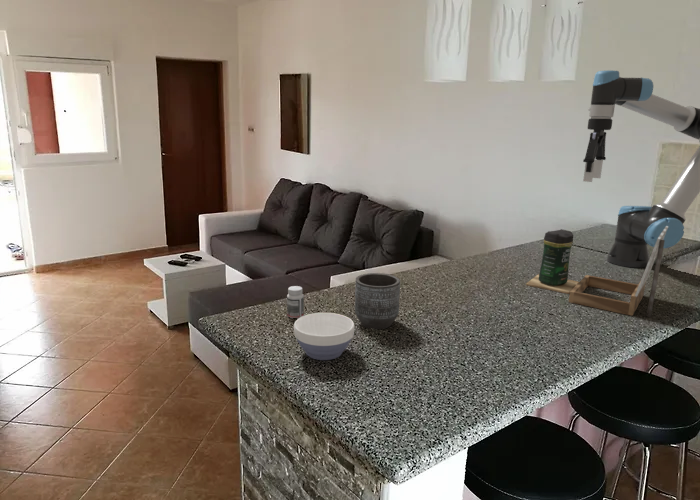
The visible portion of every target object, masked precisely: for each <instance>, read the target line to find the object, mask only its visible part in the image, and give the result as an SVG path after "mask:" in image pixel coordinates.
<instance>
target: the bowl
mask: <svg viewBox="0 0 700 500" xmlns="http://www.w3.org/2000/svg"><path fill="white" fill-rule="evenodd" d="M355 328H356V327H355V323H354V321H353V319H351V318H350V317H348V316H346V315H343V314H339V313H334V312H314V313H309V314H304V316H302V317H300V318H297V320H295V321H294V324H293V333H294V336H295V339H296V341H297V343H298V344H299V346H300V347H301V349H302V350H303V351H304V352H305V354H306V356H307V357H309V358H310V359H314V360H316V361H317V360H318V361H331V360H335V359H337V358H339V357H341V356H342V354H343V352H344V351H345V350H346V349H347V348H348V346H349V344H350V343H351V341H352V340H353V338H354V334H355Z"/></svg>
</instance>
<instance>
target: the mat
mask: <svg viewBox="0 0 700 500" xmlns="http://www.w3.org/2000/svg"><path fill="white" fill-rule="evenodd" d="M579 282H580V281H577V280H572V279H568V280H567V282H566V283H565V284H562V285H557V286H554V285H546V284H543V283H542V282H540V281H539V273H537V274H536V275H535V276H534V277H532V279H530V280H529V281H527V282H526V283H525V286H529V287H533V288H537V289H544V290H549V291H553V292H558V293H563V294H569V295H570V291H571V290H572V289H573V288H574V287H575V286H576V285H577V284H578V283H579Z"/></svg>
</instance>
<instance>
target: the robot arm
mask: <svg viewBox="0 0 700 500" xmlns="http://www.w3.org/2000/svg"><path fill="white" fill-rule="evenodd" d="M653 91H654V82H653V81H652V79H651V78H646V77H621V76H620V72H619V70H611V69H608V70H598V71H597V72H595V74H594V78H593V83H592V91H591V92H592V93H591V99H590V107H588V108H587V110H588V111H589V119H588V120H587V121H588V122H587V130H593V132H590V133H589V141H588V144H587V149H586V153H585V157H584V158H583V163H585V166H584V173H583V181H582V182H587V183H593V179H601V177H602V176H601V175H602V169H603V164H604V163H603V162H604V161H606V160H607V158H606V137H607V132H606V131H610V130H611V129H612V128H613V127H612V125H613V119H612V118H613V117H614V116H615V106H616V105H617V106H620V107H622V108H625V109H628V110H630V111H633V112H635V113H638V114H641V115H643V116H646V117H647V118H650V119H654V120H656V121H658V122H661V123H664V124H666V125H668V126H670V127H673V129H674V130H675V131H676V132H679V133H681V134H684V135H686V136H689V137H691V138H692V139H695V140H698V141H699V142H698V143H700V108H697V107H694V106H691V105H689V106H684V105H681V104H678V103H676V102H673V101H671V100H668V99H667V98H666V99H665V98H663V97H660V96H659V95H658V96H657V95H655V94H653ZM699 194H700V145H699V146H698V148H697V149H696V151H695V152H694V154H693V155H692V157H691V158H690V160H689V161H688V162H687V163H686V165H685V167H684V168H683V169H682V171H681V173H680V174H679V175H678V177H677V178H676V180H675V181H674V182H673V184H672V186H671V187H670V189H669V190H668V191H667V193H666V194H665V196H664V197H663V199H662V200H661V201H660V202H658V203H655V204H653V205H652V206H649V205H648V206H647V205H622V206H621V207H620V208H619V210H618V211H619V212H618V214H617V221H616V222H617V223H616V228H615V237H614V241H613V244H612V245H611V248H610V249H609V251H608V252H607V257H606V260H607V262H609V263H611V264H613V265H616V266H617V265H618V266H622V267H626V268H627V267H628V268H639V269H640V268H646V266H647V264H648V261H649V259H650V253H649V249H648V245H649V246H650V247H652V248H654V246H655V244H656V241H657V239H658V237H659V236H660V234H661V233H662V231H663V230H664V229H665V227H666V226H668V229H667V231H666V234H665V236H664V239H663V240H665V242H664V247H663V249H668V248H672V247H674V246H676V245H677V244H678V243H679V242H680V241H681V240H682V238H683V237H684V233H685V230H684V229H685V226H684V223H685V221H686V216H685V213H686V212H687V211H688V209H690V207H691V205H692V204H693V202H695V199H696V198H697V197H698V195H699Z"/></svg>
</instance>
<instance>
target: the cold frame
mask: <svg viewBox="0 0 700 500" xmlns="http://www.w3.org/2000/svg"><path fill="white" fill-rule="evenodd" d="M667 229H668V226H666V227H665V229H664V230H663V231H662V233H661V234H660V236H659V237H658V239H657V241H656V244H655V246H654V247H653V249H652V252H651V254H650V255H649V258H650V259H649V261H648V264H647V266H646V267H645V270H644V272H643V274H642V276H641V279H640V281H639V283H633V282H627V281H621V280H617V279H610V278H606V277H605V278H604V277H600V276H596V275H595V276H593V275H589V274H586V275H584V277H583V278H582V279H581V280H580V281H578V282H579V283H578V284H577V285H576V286H575V287H574V288H573V289H572V290H571V291H570V293H569V296H568V303H571V304H575V305H576V304H577V305H581V306H584V307H585V306H586V307H591V308H594V309H599V310H603V311H609V312H613V313H618V314H622V315H627V316H633V315H634V314H635V312H636V310H637V308H638V306H639V304H640V303H641V301H642V299H643V297H644V293H645V289H646V285H647V283H646V282H647V280H648V279H649V276H650V273H651V271H652V268H653V266H654V271H653V276H652V282H651V288H650V293H649V297H648V298H649V299H648V305H647V310H646V316H647V317H652V314H653V313H652V311H653V306H654V302H655V295H656V291H657V286H658V285H657V284H658V280H659V275H660V274H659V273H660V268H661V264H662V257H663V252H664V248H663V247H664V242H665V240H663V239H664V236H665V234H666V231H667ZM654 264H655V265H654ZM588 287H590V288H596V289H602V290H606V291H611V292H617V293H621V294H627V295H631V296H630V301H629V302H628V301H625V300H619V299H614V298H610V297H605V296H600V295H595V294H589V293H584V291H585V290H586V289H587V288H588Z"/></svg>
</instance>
